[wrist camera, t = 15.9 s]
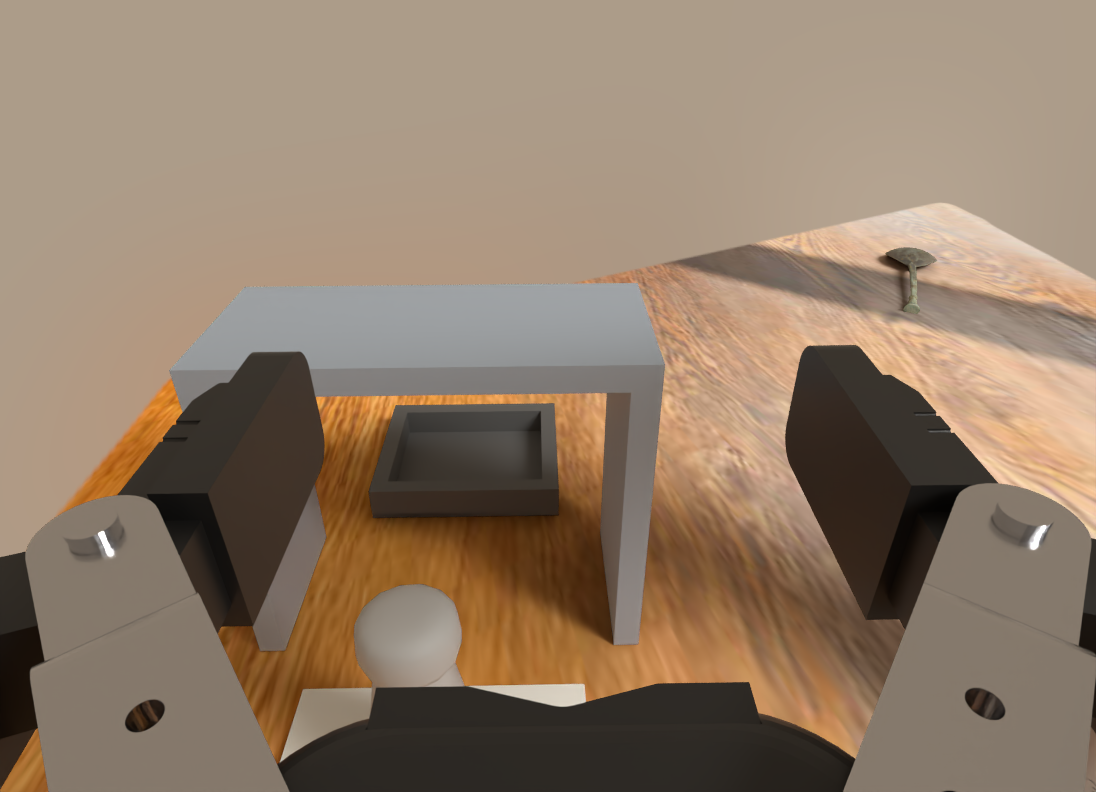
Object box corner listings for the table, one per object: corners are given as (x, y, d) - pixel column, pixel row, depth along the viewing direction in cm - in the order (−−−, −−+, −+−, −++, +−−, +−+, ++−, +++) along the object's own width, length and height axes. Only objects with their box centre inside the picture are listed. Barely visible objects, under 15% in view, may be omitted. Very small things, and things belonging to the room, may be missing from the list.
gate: (620, 532, 51) (637, 283, 41) (638, 644, 43) (664, 364, 33) (305, 537, 51) (245, 286, 41) (260, 650, 43) (169, 370, 32)
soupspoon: (932, 265, 101) (882, 261, 103) (938, 242, 99) (887, 238, 102) (939, 320, 83) (879, 313, 86) (945, 293, 82) (884, 287, 84)
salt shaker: (369, 755, 36) (328, 575, 30) (477, 726, 38) (461, 547, 31) (380, 874, 32) (333, 691, 25) (503, 835, 33) (491, 652, 26)
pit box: (554, 426, 63) (554, 403, 62) (558, 515, 53) (558, 489, 52) (398, 428, 63) (395, 405, 62) (373, 517, 53) (368, 491, 52)
